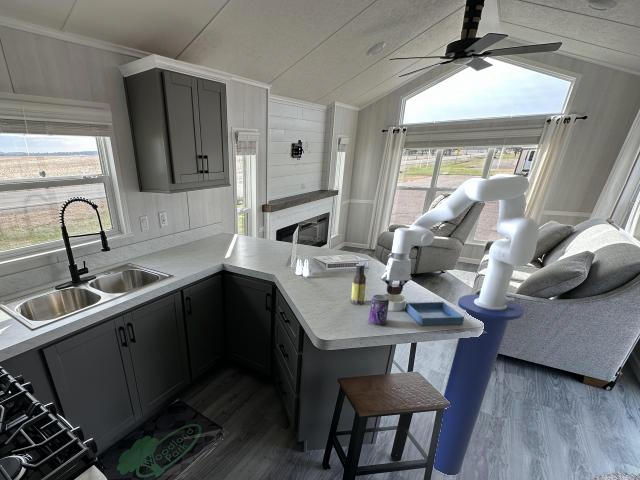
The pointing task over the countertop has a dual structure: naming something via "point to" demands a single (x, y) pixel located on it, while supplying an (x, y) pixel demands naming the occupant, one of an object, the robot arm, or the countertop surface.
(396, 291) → the block
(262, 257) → the countertop surface
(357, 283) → the sauce bottle
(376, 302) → the beverage can
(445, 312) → the tub
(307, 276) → the shaker set
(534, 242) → the robot arm
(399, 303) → the white round bowl
